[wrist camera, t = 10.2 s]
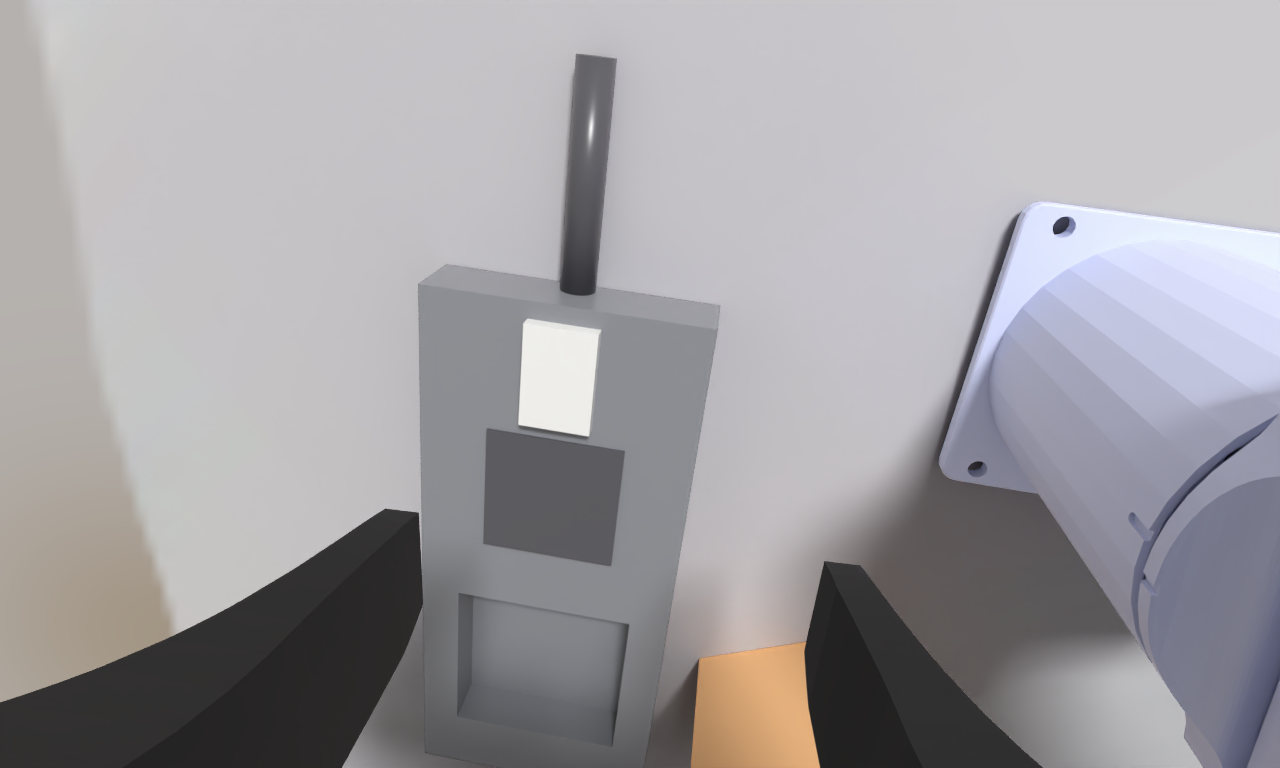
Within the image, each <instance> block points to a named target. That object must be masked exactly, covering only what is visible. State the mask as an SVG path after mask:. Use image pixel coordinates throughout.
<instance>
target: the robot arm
mask: <svg viewBox="0 0 1280 768" xmlns="http://www.w3.org/2000/svg"><path fill="white" fill-rule="evenodd" d="M1066 216H1068V218H1069V226H1068V228H1067V229H1066V231H1064V232H1062V233H1061V234H1054V233H1053V225H1054V223H1055V222H1056V220H1058V219H1059V218H1061V217H1066ZM977 461H981V462H983V465H982V466H981V468H979V469H977V470H969V469H968V467H969V466H970V464H972V463H974V462H977ZM939 465H940V468H941V470H942V472H943V474H944V475H945V476H946V477H947V478H949V479H952V480H955V481H962V482H968V483H974V484H980V485H986V486H992V487H998V488H1004V489H1010V490H1016V491H1023V492H1029V493H1035V494H1039V495H1040V497H1041V498H1042V500H1043V501H1044V503H1045V504H1046V506H1047V507H1048V509H1049V510H1050V512H1051V513H1052V515H1053V516H1054V518H1055V519H1056V521H1057V522H1058V524H1059V525H1060V527H1061V528H1062V530H1063V531H1064V533H1065V534H1066V536H1067V537H1068V539H1069V540H1070V542H1071V543H1072V545H1073V546H1074V548H1075V549H1076V551H1077V552H1078V554H1079V555H1080V557H1081V558H1082V560H1083V561H1084V563H1085V564H1086V566H1087V567H1088V569H1089V570H1090V572H1091V573H1092V575H1093V576H1094V578H1095V579H1096V581H1097V582H1098V584H1099V585H1100V587H1101V588H1102V590H1103V591H1104V593H1105V594H1106V596H1107V597H1108V599H1109V600H1110V602H1111V603H1112V605H1113V606H1114V608H1115V609H1116V611H1117V612H1118V614H1119V615H1120V617H1121V618H1122V620H1123V621H1124V623H1125V624H1126V626H1127V627H1128V629H1129V630H1130V632H1131V633H1132V635H1133V636H1134V638H1135V639H1136V641H1137V642H1138V644H1139V645H1140V647H1141V648H1142V650H1143V651H1144V653H1145V654H1146V656H1147V657H1148V659H1149V660H1150V661H1151V662H1152V663H1153V665H1154V667H1155V669H1156V670H1157V672H1158V674H1159V675H1160V677H1161V678H1162V680H1163V681H1164V683H1165V684H1166V686H1167V687H1168V689H1169V690H1170V692H1171V693H1172V694H1173V696H1174V697H1175V699H1176V700H1177V701H1178V703H1179V704H1180V706H1181V707H1182V708H1183V710H1184V711H1185V716H1186V727H1185V733H1184V738H1185V740H1186V742H1187V743H1188V745H1189V746H1190V748H1191V749H1192V751H1193V752H1194V754H1195V755H1196V757H1197V759H1198V760H1199V762H1200V763H1201V765H1202V766H1203V768H1280V233H1275V232H1267V231H1260V230H1253V229H1245V228H1238V227H1230V226H1223V225H1216V224H1208V223H1201V222H1193V221H1186V220H1179V219H1171V218H1164V217H1157V216H1149V215H1142V214H1134V213H1127V212H1120V211H1112V210H1105V209H1097V208H1090V207H1083V206H1075V205H1068V204H1060V203H1053V202H1046V201H1044V202H1035V203H1033V204H1031V205H1028V206H1027V207H1026V208H1025V209H1024V210H1023V211H1022V212H1021V214H1020V216H1019V218H1018V220H1017V223H1016V226H1015V229H1014V232H1013V235H1012V238H1011V241H1010V244H1009V247H1008V250H1007V253H1006V257H1005V260H1004V263H1003V266H1002V269H1001V272H1000V275H999V278H998V281H997V284H996V287H995V290H994V293H993V296H992V299H991V302H990V305H989V308H988V311H987V314H986V317H985V320H984V323H983V326H982V329H981V332H980V335H979V338H978V342H977V345H976V348H975V351H974V354H973V357H972V360H971V363H970V366H969V369H968V372H967V375H966V378H965V381H964V384H963V387H962V390H961V393H960V396H959V399H958V402H957V405H956V408H955V411H954V414H953V417H952V420H951V423H950V426H949V430H948V433H947V436H946V439H945V442H944V445H943V448H942V451H941V454H940V457H939ZM422 606H423V588H422V569H421V549H420V530H419V513H417V512H408V511H400V510H391V509H384V510H383V511H381V512H379V513H378V514H376V515H375V516H373V517H372V518H370V519H368V520H367V521H365V522H364V523H363V524H361V525H360V526H358V527H357V528H355V529H354V530H352V531H351V532H349V533H348V534H346V535H345V536H343V537H342V538H340V539H339V540H337V541H336V542H334V543H333V544H332V545H330V546H328V547H327V548H325V549H324V550H322V551H321V552H319V553H318V554H316V555H315V556H313V557H312V558H310V559H309V560H307V561H306V562H304V563H303V564H301V565H300V566H298V567H297V568H295V569H293V570H292V571H290V572H289V573H287V574H285V575H283V576H282V577H280V578H278V579H277V580H275V581H273V582H272V583H270V584H268V585H267V586H265V587H263V588H262V589H260V590H258V591H257V592H255V593H253V594H252V595H250V596H248V597H247V598H245V599H243V600H242V601H240V602H238V603H236V604H235V605H233V606H231V607H229V608H227V609H225V610H224V611H222V612H220V613H218V614H216V615H214V616H212V617H210V618H208V619H206V620H204V621H202V622H200V623H198V624H196V625H194V626H192V627H190V628H188V629H186V630H184V631H182V632H180V633H178V634H176V635H174V636H172V637H170V638H168V639H166V640H163V641H161V642H159V643H156V644H154V645H151V646H150V647H147V648H144V649H142V650H140V651H138V652H135V653H133V654H130V655H128V656H126V657H123V658H121V659H119V660H116V661H114V662H112V663H109V664H107V665H105V666H102V667H100V668H97V669H95V670H92V671H89V672H87V673H84V674H81V675H79V676H76V677H73V678H70V679H68V680H65V681H63V682H60V683H57V684H54V685H51V686H48V687H46V688H43V689H39V690H37V691H34V692H31V693H28V694H25V695H22V696H19V697H16V698H13V699H10V700H7V701H3V702H0V768H342V766H343V765H344V763H345V761H346V759H347V757H348V755H349V754H350V752H351V750H352V748H353V746H354V745H355V743H356V741H357V739H358V737H359V735H360V734H361V732H362V730H363V728H364V726H365V725H366V723H367V721H368V719H369V717H370V715H371V714H372V712H373V710H374V708H375V706H376V705H377V703H378V701H379V699H380V697H381V696H382V694H383V692H384V690H385V688H386V686H387V684H388V683H389V681H390V679H391V677H392V675H393V673H394V672H395V670H396V668H397V666H398V664H399V662H400V660H401V658H402V656H403V654H404V652H405V649H406V647H407V645H408V642H409V640H410V637H411V635H412V632H413V630H414V627H415V624H416V622H417V619H418V616H419V614H420V611H421V608H422ZM804 656H805V672H806V686H807V698H808V708H809V714H810V719H811V724H812V729H813V734H814V740H815V745H816V750H817V755H818V760H819V765H820V768H1042V767H1041V766H1040V765H1039V764H1038V763H1037V762H1036V761H1034V760H1033V759H1032V758H1031V757H1030V756H1029V755H1028V754H1026V753H1025V752H1024V751H1023V750H1022V749H1021V748H1020V747H1019V746H1018V745H1017V744H1016V743H1014V742H1013V741H1012V740H1011V739H1010V738H1009V737H1008V736H1007V735H1006V734H1005V733H1004V732H1003V731H1002V730H1001V729H1000V728H999V727H997V726H996V725H995V724H994V723H993V722H992V721H991V720H990V719H989V718H988V717H987V716H986V715H985V714H984V713H983V712H982V711H981V710H980V709H979V708H978V707H977V706H976V705H975V704H974V703H973V702H972V701H971V700H970V699H969V698H968V697H967V696H966V694H965V693H964V692H963V691H962V690H961V689H960V688H959V687H958V686H957V685H956V684H955V683H954V681H953V680H952V679H951V678H950V677H949V676H948V675H947V674H946V673H945V672H944V671H943V669H942V668H941V667H940V666H939V665H938V664H937V662H936V661H935V660H934V659H933V658H932V657H931V656H930V654H929V653H928V652H927V651H926V649H925V648H924V647H923V646H922V645H921V643H920V642H919V641H918V640H917V639H916V637H915V636H914V635H913V634H912V632H911V631H910V630H909V629H908V627H907V626H906V625H905V624H904V622H903V621H902V620H901V618H900V617H899V616H898V615H897V613H896V612H895V611H894V609H893V608H892V607H891V606H890V604H889V603H888V602H887V600H886V599H885V598H884V596H883V595H882V594H881V592H880V591H879V590H878V588H877V587H876V586H875V584H874V583H873V582H872V580H871V579H870V578H869V577H868V575H867V574H866V573H865V571H864V570H863V569H862V568H861V566H859V565H851V564H843V563H834V562H826V561H824V566H823V570H822V575H821V579H820V584H819V588H818V592H817V597H816V601H815V606H814V610H813V615H812V619H811V623H810V628H809V632H808V637H807V641H806V645H805V650H804Z"/></svg>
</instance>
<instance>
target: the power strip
mask: <svg viewBox="0 0 1280 768" xmlns="http://www.w3.org/2000/svg"><path fill="white" fill-rule="evenodd" d="M616 61H617V59H615V58H609V57H601V56H593V55H584V54H576V62H575V77H574V91H573V105H572V120H571V134H570V148H569V163H568V177H567V191H566V206H565V220H564V234H563V249H562V263H561V277H560V282H559V281H553V280H546V279H539V278H533V277H526V276H519V275H513V274H506V273H499V272H493V271H486V270H479V269H473V268H466V267H459V266H453V265H445V266H443V267H442V268H440V269H439V270H438V271H436V272H435V273H433V274H432V275H430V276H429V277H427V278H426V279H424V280H423V281H422V282H420V283H419V284H418V305H419V373H420V442H421V510H422V579H423V647H424V715H425V753H428V754H433V755H438V756H443V757H448V758H453V759H458V760H463V761H468V762H473V763H478V764H483V765H488V766H492V767H497V768H644V765H645V759H646V753H647V747H648V741H649V735H650V729H651V723H652V717H653V711H654V705H655V700H656V694H657V688H658V682H659V676H660V670H661V664H662V658H663V652H664V646H665V640H666V634H667V628H668V622H669V616H670V610H671V604H672V598H673V592H674V587H675V581H676V575H677V569H678V563H679V557H680V551H681V545H682V539H683V533H684V527H685V521H686V515H687V509H688V503H689V497H690V491H691V485H692V480H693V474H694V468H695V462H696V456H697V450H698V444H699V438H700V432H701V426H702V420H703V414H704V408H705V402H706V396H707V390H708V384H709V378H710V373H711V367H712V361H713V355H714V349H715V343H716V337H717V331H718V322H719V313H720V306H719V305H712V304H706V303H699V302H693V301H686V300H679V299H673V298H666V297H659V296H653V295H646V294H639V293H633V292H626V291H619V290H613V289H606V288H599V287H596V280H597V270H598V259H599V248H600V237H601V226H602V215H603V204H604V193H605V182H606V171H607V160H608V149H609V138H610V127H611V116H612V105H613V94H614V83H615V72H616Z"/></svg>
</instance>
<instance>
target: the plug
mask: <svg viewBox="0 0 1280 768" xmlns="http://www.w3.org/2000/svg"><path fill="white" fill-rule="evenodd" d="M805 645H806V642H802V643H795V644H789V645H782V646H776V647H769V648H763V649H756V650H750V651H744V652H737V653H731V654H724V655H718V656H711V657H705V658H699V669H698V681H697V694H696V707H695V720H694V733H693V745H692V758H691V768H820V765H819V760H818V755H817V750H816V745H815V740H814V734H813V729H812V724H811V719H810V714H809V708H808V698H807V686H806V672H805V656H804V650H805Z"/></svg>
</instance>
